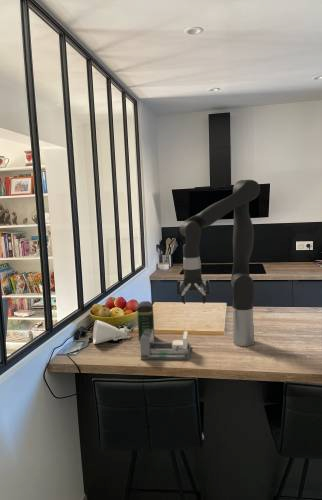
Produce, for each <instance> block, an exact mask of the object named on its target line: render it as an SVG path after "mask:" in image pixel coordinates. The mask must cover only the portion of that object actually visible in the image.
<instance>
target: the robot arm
mask: <svg viewBox="0 0 322 500" xmlns="http://www.w3.org/2000/svg"><path fill="white" fill-rule="evenodd" d="M260 191H261V186H260V184H259V183H258V182H257V181H256V180H253V179H241V180H238V181H236V182H235V183H234V185H233V189H232V194H230V195H229V196H227V197H225V198H223V199H220V200H219V201H216V202H214V203H213V204H210V205H209V206H207V207H206V208H205V209H203V210H202V211H200V212H199V213H197V214H195V215H192V216H191V217H190V218H189V217H188V218H187V219H186V220H184V221H183V222H182V223H181V224H180V226H179V232H180V233H179V234H181V235H182V236H183V237H185V244H183V245H182V253H183V254H182V255H183V257H182V259H183V261H182V262H183V263H182V265H183V266H182V267H183V280H180V279H178V280H177V282H176V294H177V295H180V296H181V303H183V304H184V305H186V293H187V291H199V292H200V293H201V294H202V304H206V303H207V295H210V293H211V287H210V280H209V278H207V279H204V280H203V279H202V263H201V256H200V255H201V253H200V244H201V235H202V230H201V229H204V228H208V227H210V226H211V225H213V224H214V223H216V222H218V221H219V220H221V219H222V218H223V217H224V216H226V215H227V214H228V213H231V212H232V211H233V231H232V257H233V261H232V262H233V263H232V271H231V277H230V284H231V287H232V288H233V289H232V290H233V301H232V333H233V334H232V335H233V336H232V337H233V339H232V340H233V344H234V345H236V346H239V347H250V346H254V345H255V325H254V301H255V285H254V284H255V282H254V280H253V279H252V277H251V276H250V258H251V255H252V252H253V248H254V239H255V229H254V225H253V222H252V219H251V216H250V212H249V211H250V210H249V209H250V202H251V201H253V200H255V199H257V198H258V196H259V195H260V193H261V192H260ZM203 284H204V286H205V288H206V290H205V289H204V287H203V286H202V285H203ZM182 285H184V286H185V287H184V289H183V290H182V291H181V286H182Z"/></svg>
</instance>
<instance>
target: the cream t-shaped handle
mask: <svg viewBox="0 0 322 500" xmlns="http://www.w3.org/2000/svg"><path fill="white" fill-rule="evenodd" d="M182 335H183V336H182V339H181V340H180V339H178V340H177V339H176V340H175V339H173V340H172V342H171V343H172V349H176V351H178V349H187V345H188V343H189V331H188V330H184V331H183V334H182Z"/></svg>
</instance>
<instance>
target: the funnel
mask: <svg viewBox="0 0 322 500" xmlns="http://www.w3.org/2000/svg"><path fill="white" fill-rule="evenodd" d="M129 332H131V329H130V328H129V329H128V327H127V326H126V325H124V326H123V328H119V329H118V328H117V327H116V326H114V325H111V324H109V323H107V322H104V321H101V320H98V319H97V320H95V321H94V324H93V331H92V341H93V342H92V343H93V344H94V345H95V344H96V345H97V344H101V343H105V342H108V341H115V342H116V341H119V340H120V339H123V340H125V339H126V340H128V339H131V336H130V335H128V334H129ZM118 339H119V340H118Z"/></svg>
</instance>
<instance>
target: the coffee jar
mask: <svg viewBox="0 0 322 500" xmlns="http://www.w3.org/2000/svg"><path fill="white" fill-rule="evenodd" d="M136 312H137V316H136V317H137V328H138V330H137V331H138V341H140V338H141V336H142V334H143V332H144V330H145V329H153V333H154V334H155V322H154V321H155V320H154V317H155V316H154V307H153V303H152V302H151V301H140V302H139V303H138V304H137V306H136Z"/></svg>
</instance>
